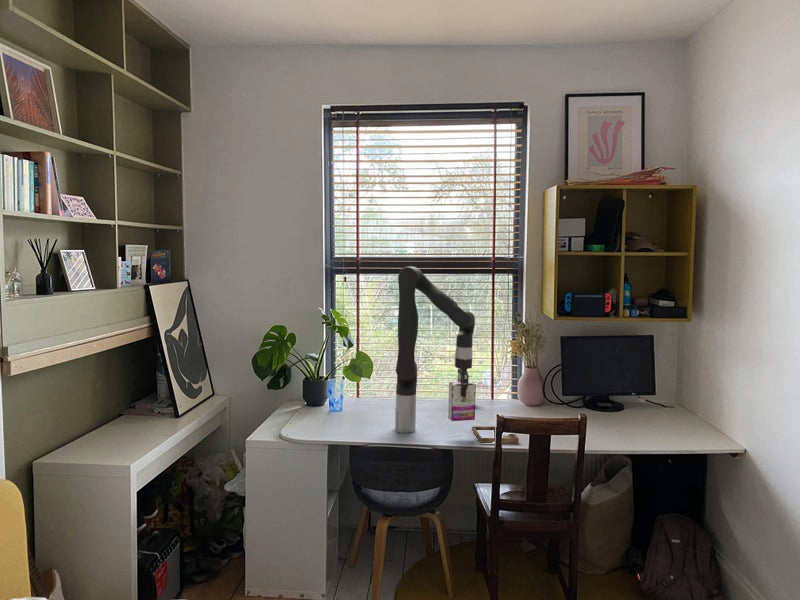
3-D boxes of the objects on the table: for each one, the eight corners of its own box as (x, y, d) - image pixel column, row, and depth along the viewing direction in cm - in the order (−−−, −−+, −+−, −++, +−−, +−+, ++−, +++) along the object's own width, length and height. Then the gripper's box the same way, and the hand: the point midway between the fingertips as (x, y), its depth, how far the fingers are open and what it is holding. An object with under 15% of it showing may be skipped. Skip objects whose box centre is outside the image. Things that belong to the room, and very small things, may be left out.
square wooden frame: (479, 444, 235) (479, 438, 235) (471, 431, 252) (471, 426, 252) (518, 444, 237) (518, 438, 236) (508, 431, 253) (508, 426, 253)
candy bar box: (470, 417, 247) (472, 381, 245) (475, 420, 242) (476, 383, 240) (447, 418, 244) (448, 381, 242) (451, 421, 239) (452, 384, 238)
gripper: (452, 353, 247) (451, 390, 249) (458, 359, 233) (456, 398, 234) (469, 354, 248) (467, 390, 249) (475, 360, 234) (473, 399, 235)
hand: (462, 394), depth 242 cm, fingers closed on candy bar box, 5 cm apart
